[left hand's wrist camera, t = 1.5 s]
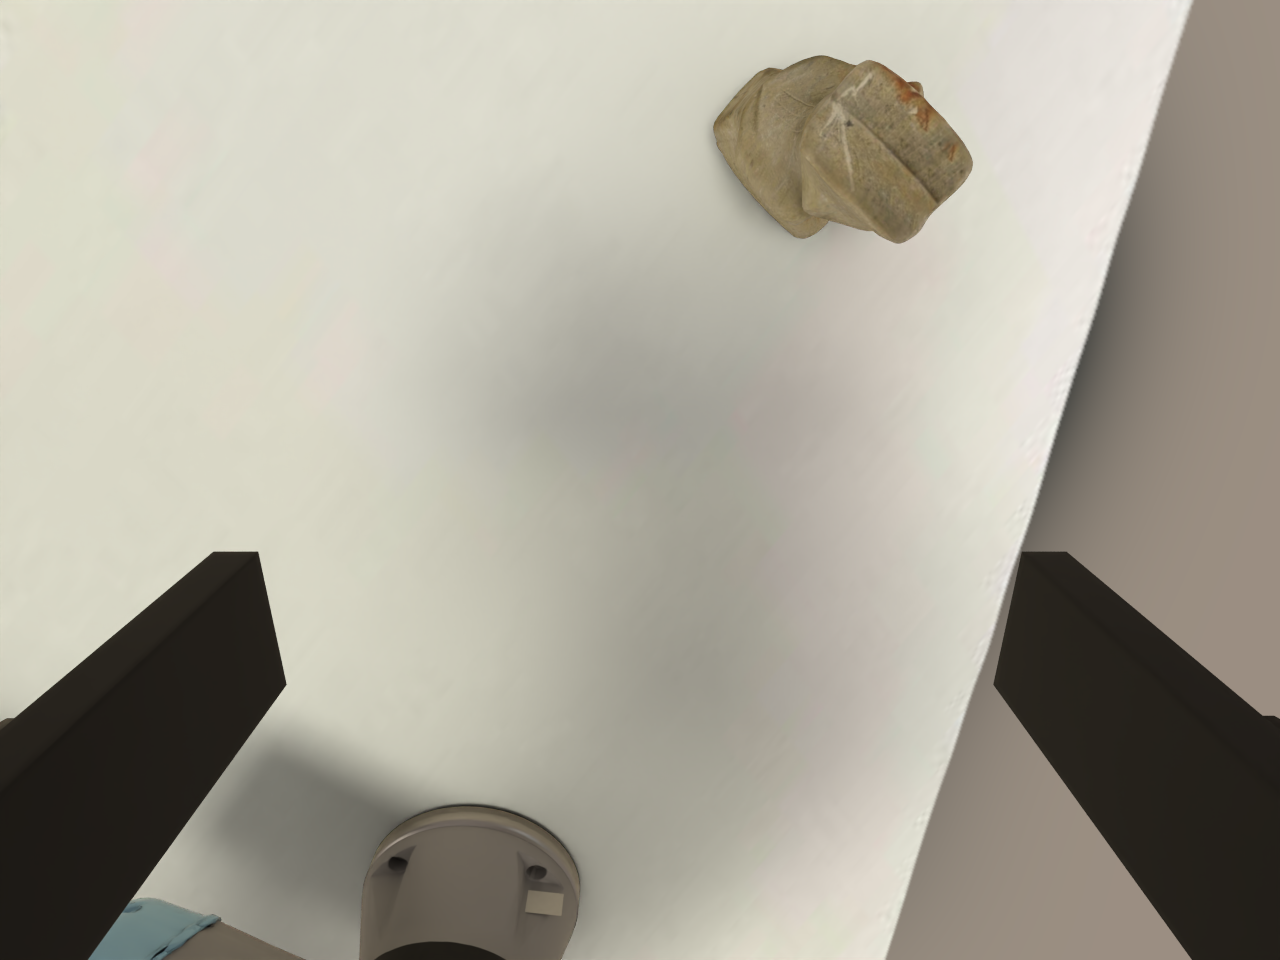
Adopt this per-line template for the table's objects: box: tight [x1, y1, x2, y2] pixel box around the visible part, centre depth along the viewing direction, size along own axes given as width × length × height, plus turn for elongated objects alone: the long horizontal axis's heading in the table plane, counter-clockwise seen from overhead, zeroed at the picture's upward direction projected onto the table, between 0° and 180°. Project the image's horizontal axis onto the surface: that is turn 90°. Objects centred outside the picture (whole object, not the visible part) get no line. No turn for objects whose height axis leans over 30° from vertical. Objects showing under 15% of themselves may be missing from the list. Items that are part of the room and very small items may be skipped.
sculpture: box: [713, 56, 973, 243], centre depth 28 cm, size 6×7×15 cm
